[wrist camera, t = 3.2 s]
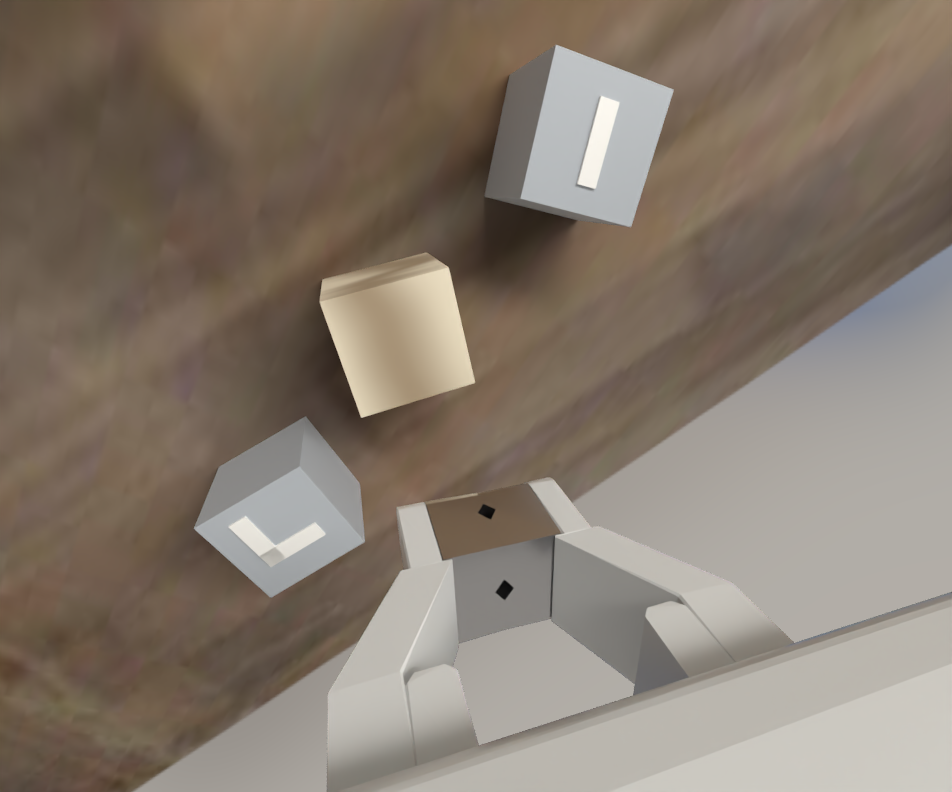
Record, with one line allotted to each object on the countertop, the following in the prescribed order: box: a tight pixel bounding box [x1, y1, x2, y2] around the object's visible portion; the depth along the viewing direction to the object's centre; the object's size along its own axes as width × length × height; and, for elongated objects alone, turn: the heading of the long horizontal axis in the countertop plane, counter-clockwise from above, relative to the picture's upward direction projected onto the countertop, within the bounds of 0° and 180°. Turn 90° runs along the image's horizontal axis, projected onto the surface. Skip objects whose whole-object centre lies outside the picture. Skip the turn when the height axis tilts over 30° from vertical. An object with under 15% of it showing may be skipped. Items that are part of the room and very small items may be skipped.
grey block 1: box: [194, 416, 365, 597], centre depth 23 cm, size 5×5×5 cm
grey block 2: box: [484, 45, 673, 227], centre depth 20 cm, size 5×5×5 cm
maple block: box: [320, 252, 475, 418], centre depth 21 cm, size 5×5×5 cm
